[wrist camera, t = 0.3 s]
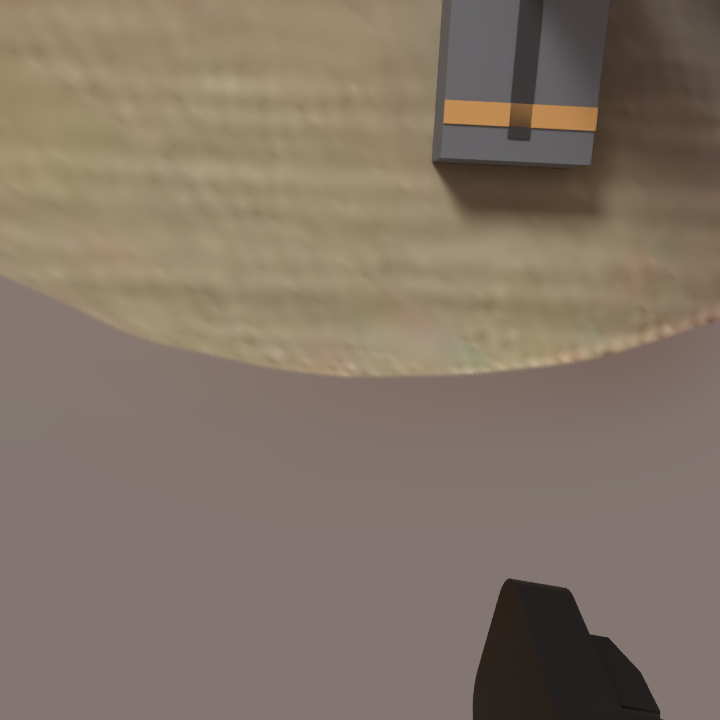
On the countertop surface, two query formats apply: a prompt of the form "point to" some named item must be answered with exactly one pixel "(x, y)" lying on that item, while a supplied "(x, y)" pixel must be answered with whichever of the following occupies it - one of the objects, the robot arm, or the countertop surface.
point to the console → (519, 82)
